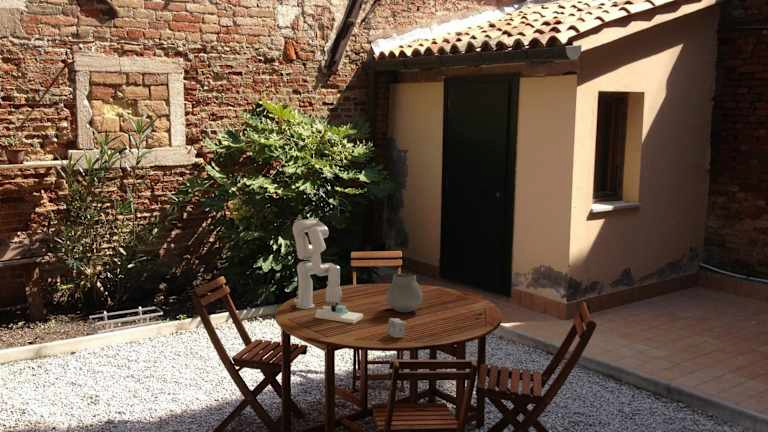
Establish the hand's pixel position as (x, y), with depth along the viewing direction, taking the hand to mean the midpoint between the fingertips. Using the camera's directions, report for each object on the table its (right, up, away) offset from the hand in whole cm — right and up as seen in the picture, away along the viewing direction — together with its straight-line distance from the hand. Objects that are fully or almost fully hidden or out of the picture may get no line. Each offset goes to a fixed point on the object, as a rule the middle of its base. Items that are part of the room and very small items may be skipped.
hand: (333, 311), depth 462 cm
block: (+5, -1, -2) cm, 5 cm away
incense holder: (+40, -10, -36) cm, 55 cm away
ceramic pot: (+46, -2, +17) cm, 50 cm away
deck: (+4, -4, -1) cm, 5 cm away
